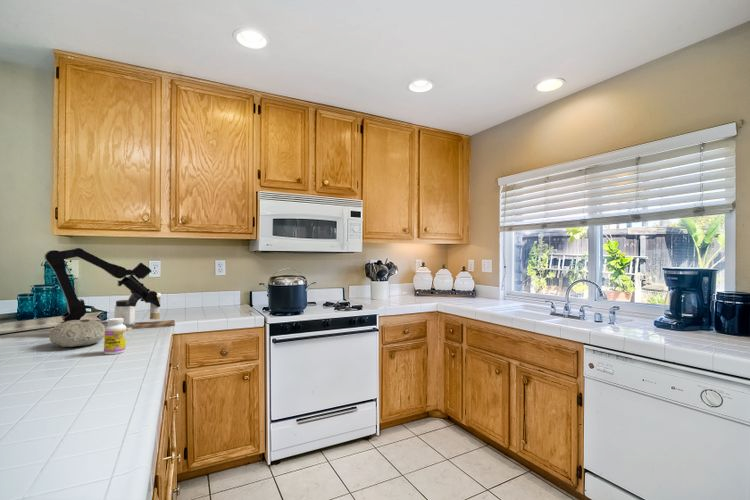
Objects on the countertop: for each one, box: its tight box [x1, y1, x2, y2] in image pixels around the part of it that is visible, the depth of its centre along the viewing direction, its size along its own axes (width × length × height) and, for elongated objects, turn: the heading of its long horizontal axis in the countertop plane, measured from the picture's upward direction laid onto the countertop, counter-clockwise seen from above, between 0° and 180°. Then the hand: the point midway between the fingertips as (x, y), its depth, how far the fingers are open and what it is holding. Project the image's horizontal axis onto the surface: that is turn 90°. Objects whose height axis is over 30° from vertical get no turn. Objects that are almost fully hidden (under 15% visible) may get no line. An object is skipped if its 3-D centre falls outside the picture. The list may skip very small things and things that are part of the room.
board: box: [132, 319, 176, 330], centre depth 186 cm, size 18×11×1 cm, turn 121°
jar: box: [114, 299, 136, 325], centre depth 190 cm, size 9×8×12 cm
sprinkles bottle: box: [149, 292, 162, 320], centre depth 187 cm, size 5×5×13 cm
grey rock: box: [48, 318, 106, 348], centre depth 145 cm, size 18×18×10 cm
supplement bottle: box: [103, 318, 127, 356], centre depth 135 cm, size 7×7×13 cm
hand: (158, 306), depth 188 cm, fingers closed on sprinkles bottle, 4 cm apart
